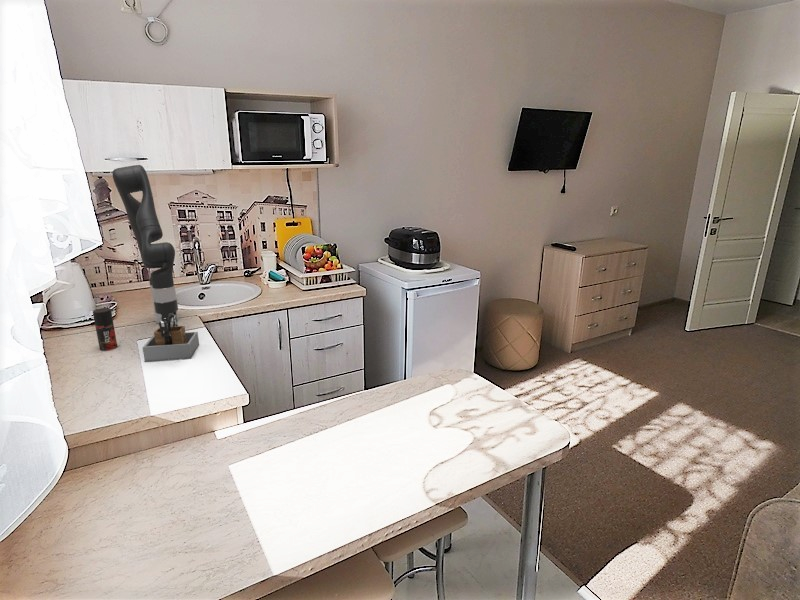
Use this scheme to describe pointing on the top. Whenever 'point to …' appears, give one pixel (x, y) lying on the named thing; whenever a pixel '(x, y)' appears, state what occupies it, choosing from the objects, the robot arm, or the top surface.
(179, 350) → the crate large
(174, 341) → the crate small
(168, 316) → the robot arm
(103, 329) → the deodorant
